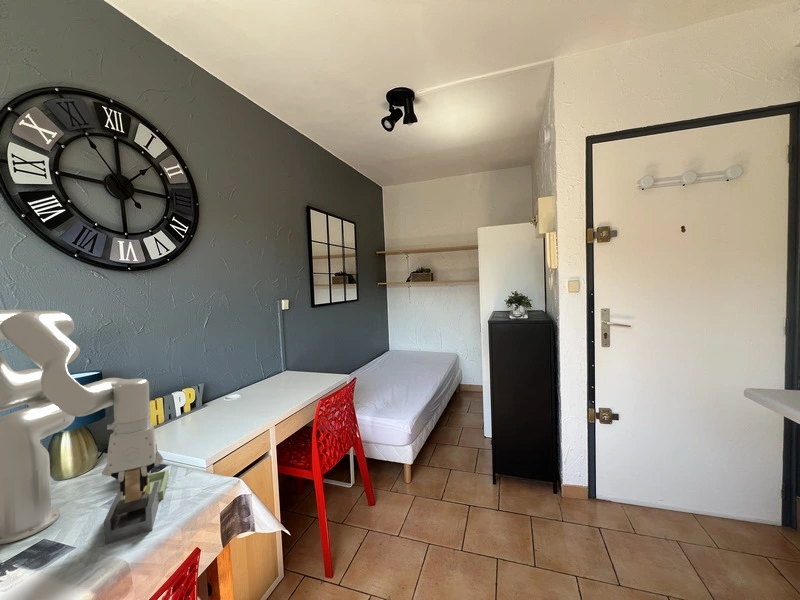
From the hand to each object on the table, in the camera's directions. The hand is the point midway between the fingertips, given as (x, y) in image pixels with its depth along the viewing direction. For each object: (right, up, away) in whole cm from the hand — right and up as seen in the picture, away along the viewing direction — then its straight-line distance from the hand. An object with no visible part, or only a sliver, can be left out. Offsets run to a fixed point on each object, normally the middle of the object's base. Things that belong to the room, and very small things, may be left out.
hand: (134, 490), depth 88 cm
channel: (0, -8, 0) cm, 8 cm away
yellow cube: (-3, -5, +5) cm, 8 cm away
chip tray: (-7, -8, +12) cm, 16 cm away
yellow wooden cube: (-1, -5, +2) cm, 6 cm away
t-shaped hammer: (+1, -4, -1) cm, 4 cm away
